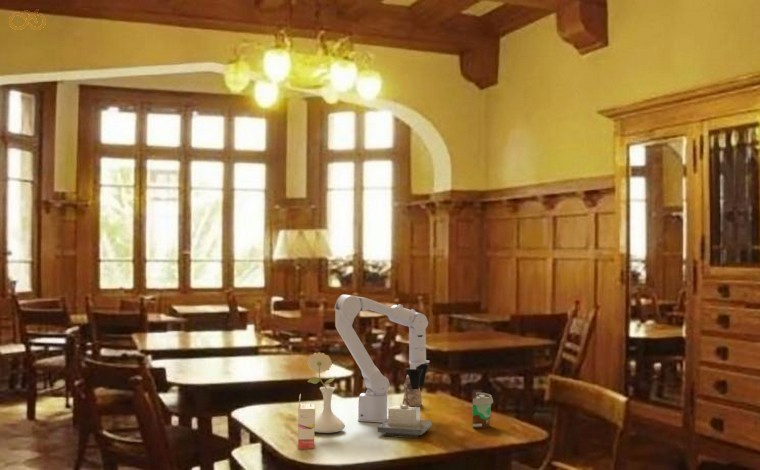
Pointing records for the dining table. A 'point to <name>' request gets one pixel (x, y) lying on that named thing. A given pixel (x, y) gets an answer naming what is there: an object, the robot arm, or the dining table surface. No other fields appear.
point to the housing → (404, 415)
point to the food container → (481, 410)
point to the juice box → (306, 426)
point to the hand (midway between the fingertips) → (418, 387)
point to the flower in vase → (324, 395)
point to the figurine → (411, 394)
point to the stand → (404, 429)
